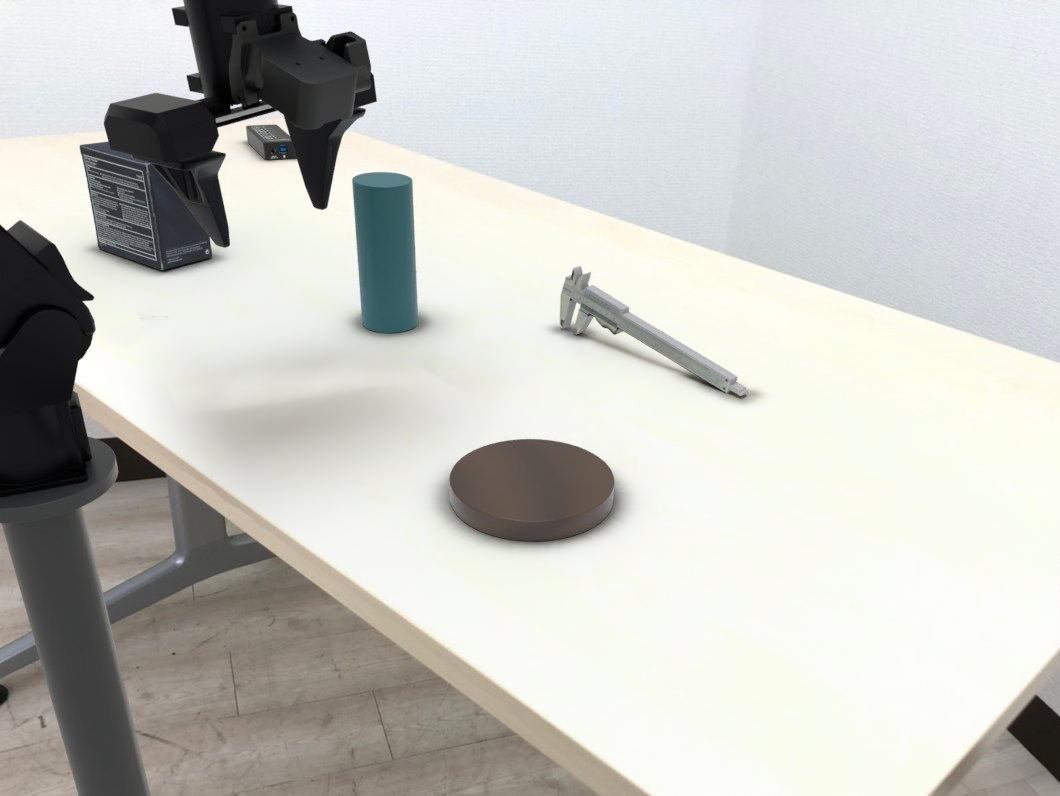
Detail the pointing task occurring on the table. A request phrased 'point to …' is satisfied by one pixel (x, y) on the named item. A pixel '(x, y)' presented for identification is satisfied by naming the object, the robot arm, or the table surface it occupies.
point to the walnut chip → (531, 489)
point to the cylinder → (386, 251)
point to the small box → (140, 211)
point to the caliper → (636, 330)
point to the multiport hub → (270, 142)
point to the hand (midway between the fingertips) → (273, 226)
